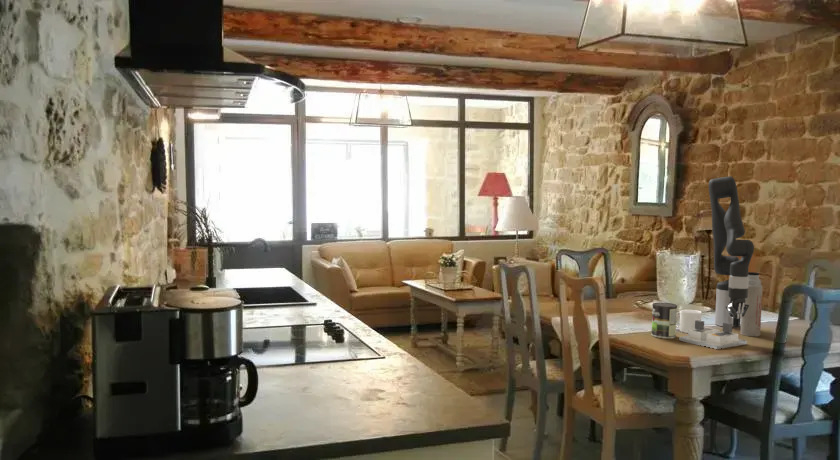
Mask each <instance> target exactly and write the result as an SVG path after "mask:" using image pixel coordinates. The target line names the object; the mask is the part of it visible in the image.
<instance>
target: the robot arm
mask: <svg viewBox="0 0 840 460" xmlns="http://www.w3.org/2000/svg"><path fill="white" fill-rule="evenodd" d="M708 192H709V193H708V194H709V203H710V208H711V228H712V237H713V269H714V273H715V274H717V275H719V276H722V275H723V276H729V278H728V279H727V280H724V281H720V282H717V283H716V294H715V295H716V297H715V298H716V299H715V314H714V315H715V318H714V324H715V325H716V326H719V327H720V326H721V327H723V323H730V324H732V328H741V318H742V316H743V317H744V315H745V313H746V311H747V309H748V307H749V305H748V304H746V303H745V302H746V301H745V299H746V298H748V272H749V266H750V263H751V260H752V258H753V255H754V251H755V245H754V242H753V241H751V240H750V239H740V238H742V237H743V236H745V234H746V232H745V227H744V223H743V220H742V215H741V209H740V208H741V207H740V199H739V193H738V187H737V184H736V180H735V178H734V177H733V176H730V175H729V176H724V177H723V176H722V177H717V178H712V179H710V180H709V182H708ZM725 198H726V199H727V198H730V203H729V206H728V208H727V210H725V208H724V207H722V205H721V204H720V201H719V199H725ZM725 249H726V252H727V254H728V255H723V252H724V250H725ZM739 257H741V258H739Z"/></svg>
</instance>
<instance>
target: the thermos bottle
mask: <svg viewBox="0 0 840 460" xmlns="http://www.w3.org/2000/svg"><path fill="white" fill-rule="evenodd" d="M762 300H763V285H762V280H761V279H760V273H759V272H754V271H748V298H746V299H745V301H746V302H745V303H746V304H748V305H749V307H748V309H747V311H746V313H745V315H744V317H743V316H742V318H741V319H740V335H741V336H742V335H743V336H746V337H760V336H761V326H762V323H761V322H762V308H763V307H762V304H763V301H762Z"/></svg>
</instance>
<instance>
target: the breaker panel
mask: <svg viewBox="0 0 840 460" xmlns="http://www.w3.org/2000/svg"><path fill="white" fill-rule="evenodd" d="M678 338H679V339H678V340H679V341H681V342H685V343H688V344H692V345H696V346H700V345H701V347H704V346H706V347H705V348H708V347H710V348H709V349H712V348H714V349H713V350H716V349H717V350H721V348H722V349H726V348H732V347H733V348H735V347H739V346H744V345H747V344H748V341H747V340H746V339H741V338H739V333H735V332H732V333H727V332H723V330H721V331H720V329H718V328H713V327H708V326H704V330H698V329H689V330H688V333H687V335H682V336H679V337H678Z"/></svg>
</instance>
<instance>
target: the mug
mask: <svg viewBox="0 0 840 460" xmlns="http://www.w3.org/2000/svg"><path fill="white" fill-rule="evenodd" d="M678 314H679V325H677V324H676V329H678V330H679V332H680V333H684V334H688V330H689V329H695V320H700V321H702V311H700V310H695V309H680V310H679V311H677V315H678Z"/></svg>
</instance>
